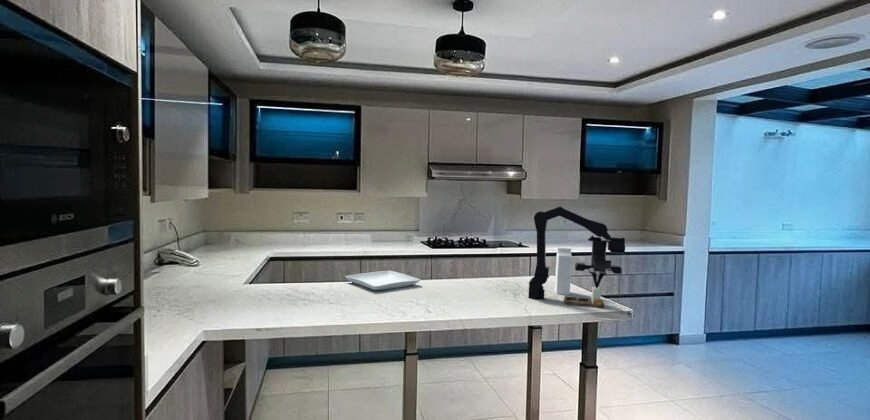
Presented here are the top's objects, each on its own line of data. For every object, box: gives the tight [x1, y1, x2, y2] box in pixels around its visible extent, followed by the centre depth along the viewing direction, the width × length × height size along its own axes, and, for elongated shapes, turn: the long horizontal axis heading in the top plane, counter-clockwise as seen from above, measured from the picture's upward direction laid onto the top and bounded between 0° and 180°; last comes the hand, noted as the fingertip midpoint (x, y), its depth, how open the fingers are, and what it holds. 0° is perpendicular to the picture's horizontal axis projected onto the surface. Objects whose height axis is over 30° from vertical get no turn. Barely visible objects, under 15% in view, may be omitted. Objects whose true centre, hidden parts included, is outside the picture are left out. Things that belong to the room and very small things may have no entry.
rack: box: [563, 295, 606, 309], centre depth 208 cm, size 16×11×4 cm, turn 77°
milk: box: [554, 247, 573, 296], centre depth 226 cm, size 6×6×22 cm
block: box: [590, 286, 602, 304], centre depth 207 cm, size 3×6×7 cm, turn 167°
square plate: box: [345, 270, 421, 291], centre depth 234 cm, size 27×27×4 cm
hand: (596, 287), depth 206 cm, fingers closed
